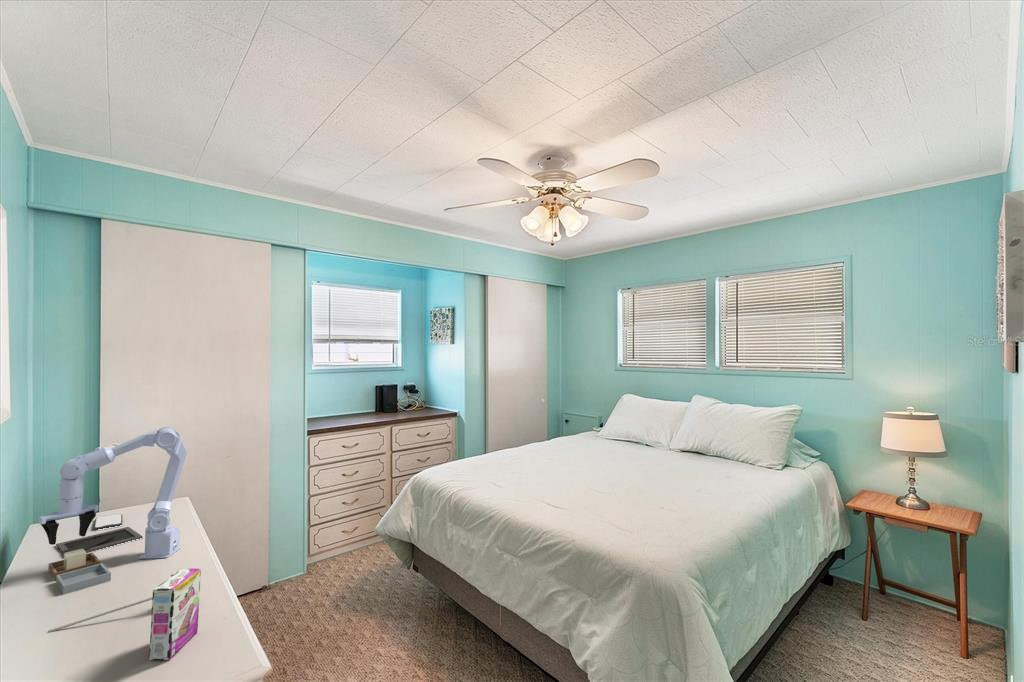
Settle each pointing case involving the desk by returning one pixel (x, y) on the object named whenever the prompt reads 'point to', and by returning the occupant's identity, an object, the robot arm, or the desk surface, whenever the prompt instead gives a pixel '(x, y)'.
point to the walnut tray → (58, 568)
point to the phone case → (108, 521)
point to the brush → (102, 613)
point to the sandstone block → (74, 559)
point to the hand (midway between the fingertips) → (67, 539)
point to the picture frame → (100, 540)
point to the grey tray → (83, 578)
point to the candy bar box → (174, 614)
